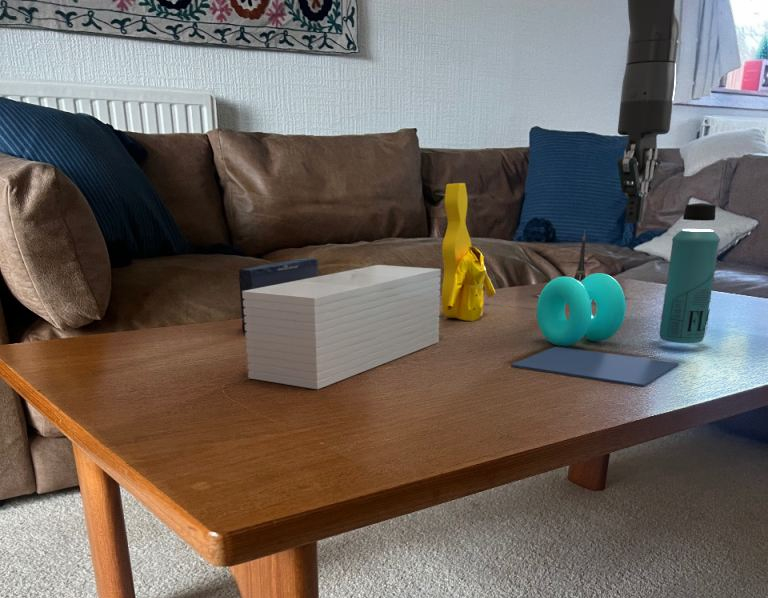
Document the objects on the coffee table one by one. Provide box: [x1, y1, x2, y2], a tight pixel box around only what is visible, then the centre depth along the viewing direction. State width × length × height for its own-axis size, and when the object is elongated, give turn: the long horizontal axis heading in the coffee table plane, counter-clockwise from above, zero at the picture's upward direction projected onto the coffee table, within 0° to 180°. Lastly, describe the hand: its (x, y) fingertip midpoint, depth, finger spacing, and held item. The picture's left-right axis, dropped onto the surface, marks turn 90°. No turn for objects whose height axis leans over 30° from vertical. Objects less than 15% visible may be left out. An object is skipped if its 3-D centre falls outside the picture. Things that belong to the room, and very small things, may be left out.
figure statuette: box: [441, 182, 497, 322], centre depth 134 cm, size 18×8×22 cm, turn 148°
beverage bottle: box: [659, 202, 721, 344], centre depth 111 cm, size 6×7×20 cm
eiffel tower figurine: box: [536, 230, 587, 297], centre depth 154 cm, size 15×10×13 cm
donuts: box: [536, 272, 627, 347], centre depth 117 cm, size 10×10×10 cm
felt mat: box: [510, 346, 680, 388], centre depth 105 cm, size 18×14×1 cm
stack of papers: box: [242, 264, 442, 390], centre depth 107 cm, size 32×11×11 cm, turn 149°
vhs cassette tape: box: [238, 257, 319, 334], centre depth 130 cm, size 18×3×10 cm, turn 148°
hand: (633, 222), depth 123 cm, fingers closed
